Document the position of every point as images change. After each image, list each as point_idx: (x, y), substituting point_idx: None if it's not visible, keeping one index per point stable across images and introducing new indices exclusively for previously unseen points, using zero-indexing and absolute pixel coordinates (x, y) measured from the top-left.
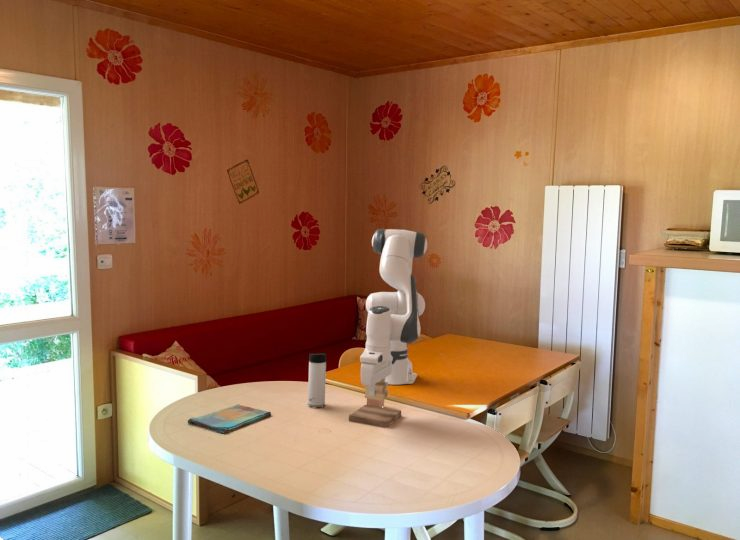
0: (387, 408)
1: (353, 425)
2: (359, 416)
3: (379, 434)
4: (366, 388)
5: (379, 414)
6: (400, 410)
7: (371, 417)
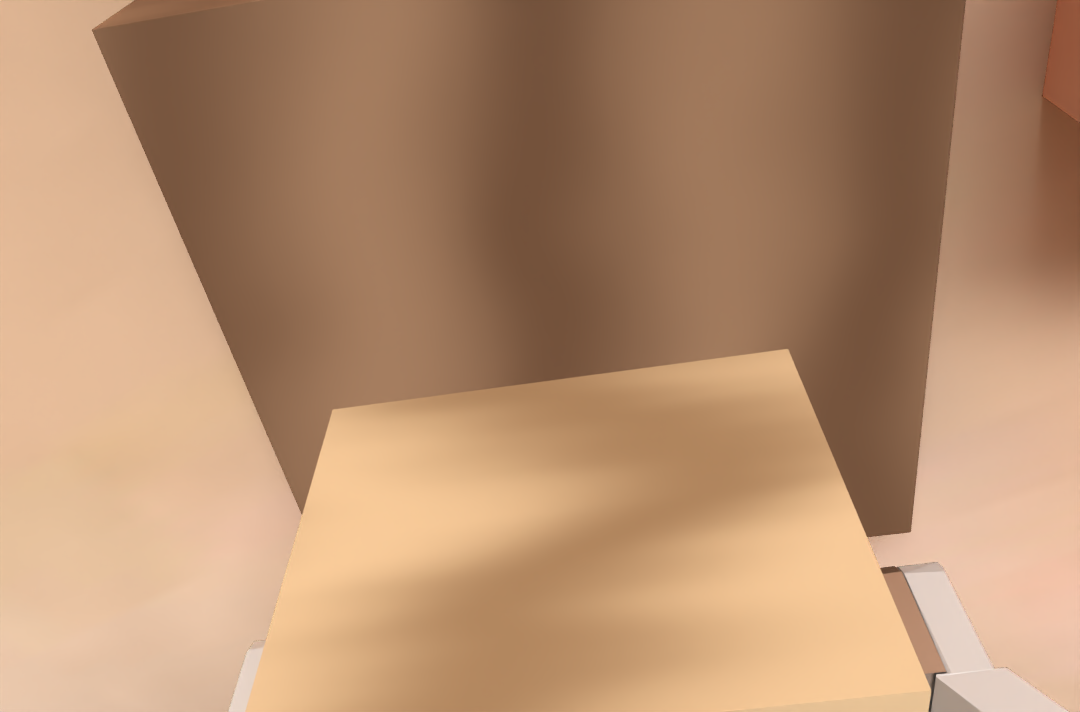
0: (919, 355)
1: (53, 188)
2: (211, 224)
3: (106, 573)
4: (283, 647)
5: None
6: (908, 524)
7: (329, 389)
